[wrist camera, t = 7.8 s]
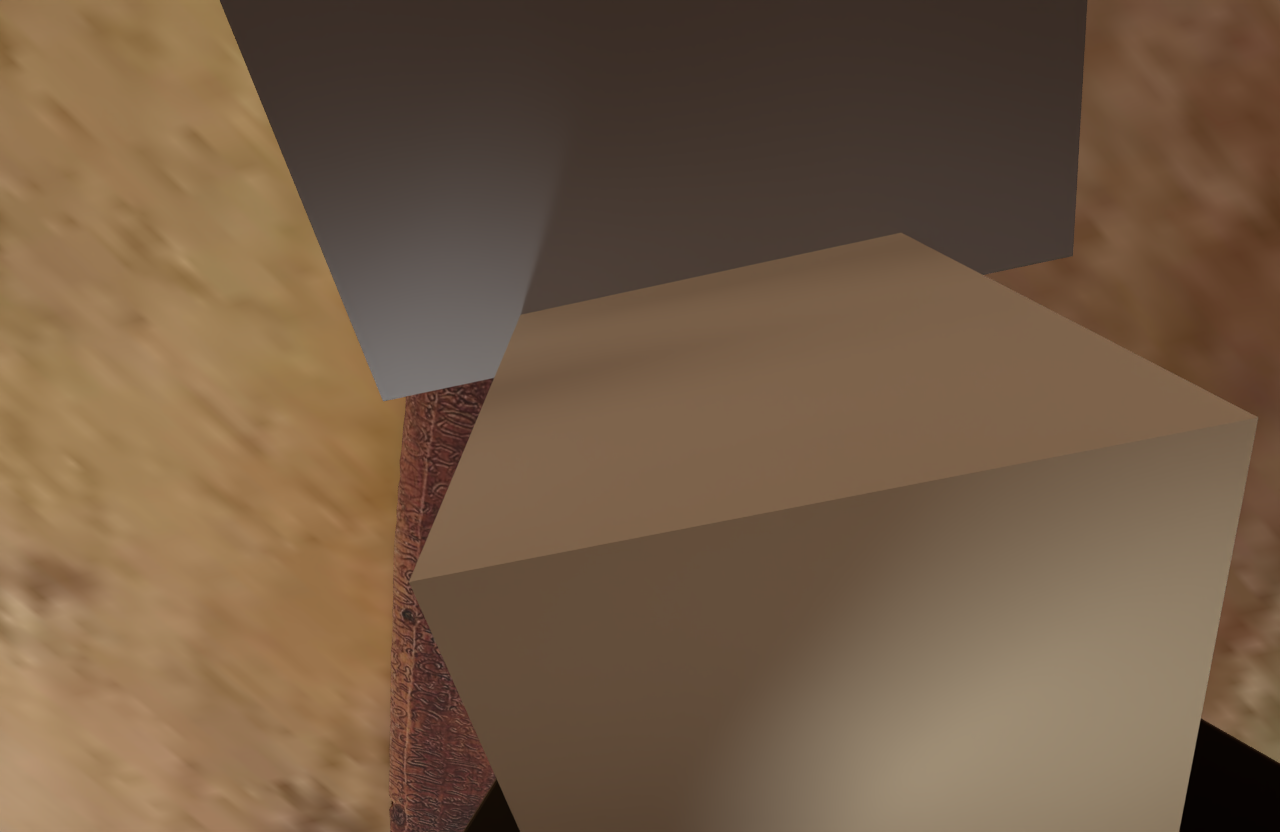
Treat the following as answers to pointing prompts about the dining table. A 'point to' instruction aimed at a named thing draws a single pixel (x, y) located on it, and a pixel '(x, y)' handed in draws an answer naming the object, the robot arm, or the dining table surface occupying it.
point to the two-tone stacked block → (767, 407)
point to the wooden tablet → (430, 633)
